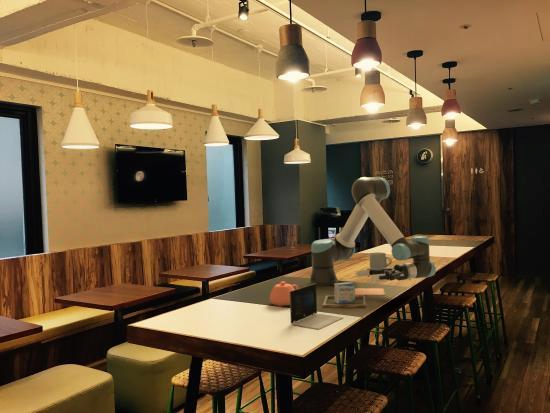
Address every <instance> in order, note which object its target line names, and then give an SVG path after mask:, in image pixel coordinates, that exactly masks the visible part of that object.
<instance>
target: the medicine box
mask: <svg viewBox="0 0 550 413" xmlns="http://www.w3.org/2000/svg"><path fill="white" fill-rule="evenodd" d="M333 288H334V296H335V298H334V303H336V304H353V303H355V302H356V301H355V300H356V298H355V296H356V295H355V283H354V282H352V281H347V282H344V281H343V282H338V283H334V286H333Z"/></svg>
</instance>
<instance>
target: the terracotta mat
mask: <svg viewBox="0 0 550 413" xmlns="http://www.w3.org/2000/svg"><path fill="white" fill-rule="evenodd" d="M354 293H355V296H386V294H385V289H384V288H378V287H377V288H376V287H375V288H374V287H373V288H370V287H369V288H361V287H360V288H359V287H358V288H356V287H354Z"/></svg>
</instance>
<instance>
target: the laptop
mask: <svg viewBox="0 0 550 413" xmlns="http://www.w3.org/2000/svg"><path fill="white" fill-rule="evenodd" d="M317 307H318V303H317V286H316V283H314V284H308V285H306V286H302V287H298V289H296V288H295V289H294V290H293V291H290V305H289V308H290V311H289V312H290V317H289V318H290V324H291V326H295V327H296V326H298V327H300V328H301V327H302V328H306V329H314V330H321V329H323V328H325V327H327V326H329V325H331V324H333V323H336V322H338V321H340V320H342V319H344V317H343V316H336V315H332V314H323V313H318V310H317V309H318V308H317Z"/></svg>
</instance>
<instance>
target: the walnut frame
mask: <svg viewBox="0 0 550 413" xmlns="http://www.w3.org/2000/svg"><path fill="white" fill-rule="evenodd" d="M328 299H335V295H325V297H324V300H323V302H322V303H323V304H322V308H366V306H367V305H366V295H355V299H362V304H353V303H346V304H338V303H336V304H335V303H333V304H332V303H331V304H329V303H328Z"/></svg>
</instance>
